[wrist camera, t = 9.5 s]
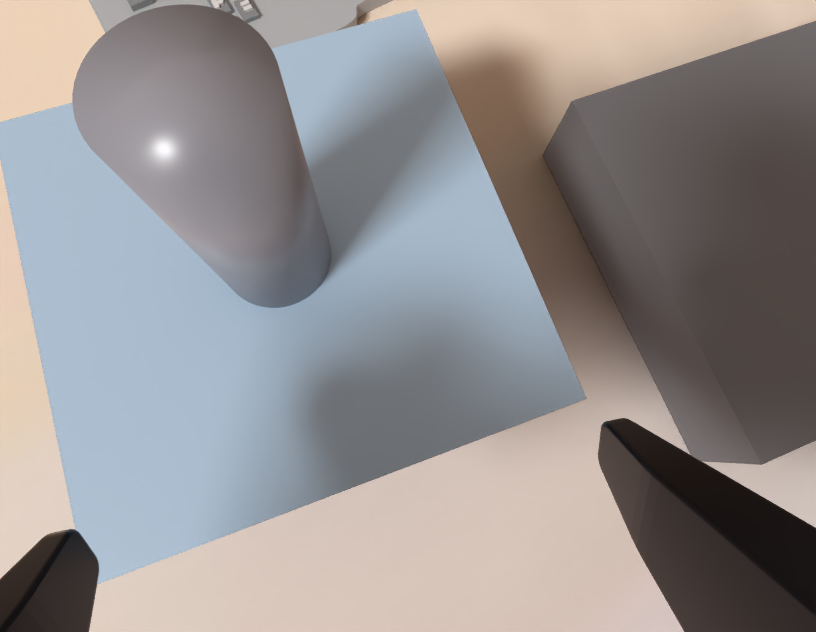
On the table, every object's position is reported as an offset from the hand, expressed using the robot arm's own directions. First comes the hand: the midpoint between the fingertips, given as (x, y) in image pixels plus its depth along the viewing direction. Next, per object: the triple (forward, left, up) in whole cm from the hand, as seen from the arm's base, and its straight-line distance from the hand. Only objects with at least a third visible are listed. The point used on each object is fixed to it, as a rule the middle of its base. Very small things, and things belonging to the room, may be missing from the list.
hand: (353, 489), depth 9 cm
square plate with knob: (+6, 0, -5) cm, 8 cm away
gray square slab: (+3, -20, -12) cm, 24 cm away
